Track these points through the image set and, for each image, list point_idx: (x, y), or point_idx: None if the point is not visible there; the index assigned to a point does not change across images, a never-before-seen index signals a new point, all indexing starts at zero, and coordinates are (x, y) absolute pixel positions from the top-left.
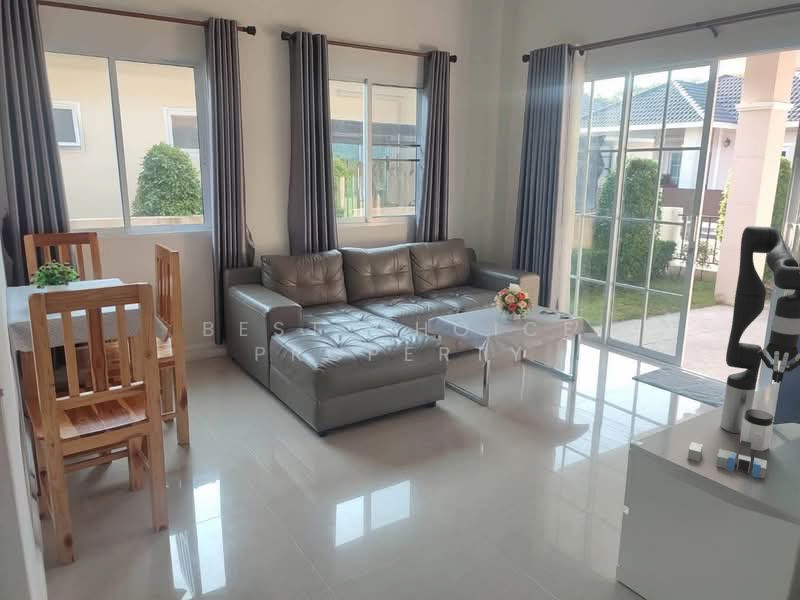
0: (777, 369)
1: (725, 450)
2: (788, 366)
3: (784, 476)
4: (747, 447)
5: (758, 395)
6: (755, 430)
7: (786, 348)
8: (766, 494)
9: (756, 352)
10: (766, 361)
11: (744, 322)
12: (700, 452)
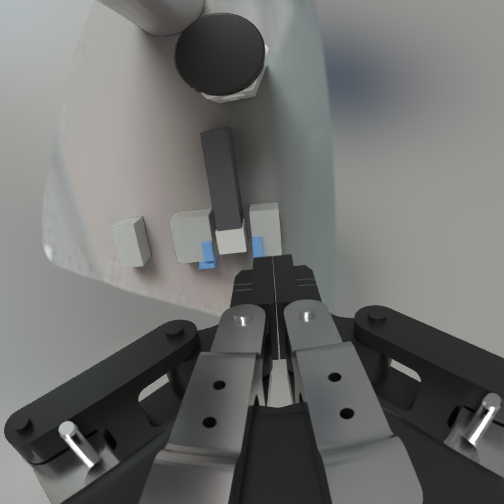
0: (268, 378)
1: (182, 219)
2: (370, 356)
3: (317, 204)
4: (223, 169)
5: None
6: (225, 96)
7: None
8: None
9: None
10: (153, 429)
11: None
12: (143, 265)
